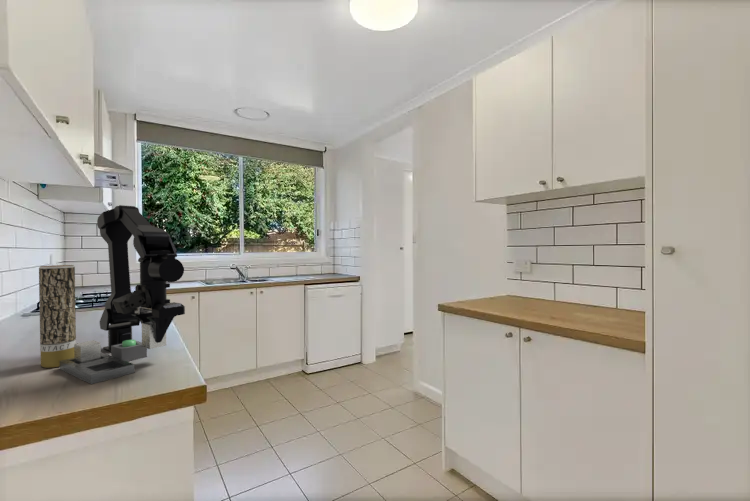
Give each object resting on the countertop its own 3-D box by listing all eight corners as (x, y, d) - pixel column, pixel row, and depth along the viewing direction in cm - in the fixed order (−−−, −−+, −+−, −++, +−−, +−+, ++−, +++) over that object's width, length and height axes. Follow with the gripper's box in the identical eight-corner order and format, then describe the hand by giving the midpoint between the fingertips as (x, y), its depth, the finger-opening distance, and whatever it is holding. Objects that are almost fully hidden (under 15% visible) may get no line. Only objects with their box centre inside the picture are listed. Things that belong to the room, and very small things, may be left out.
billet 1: (74, 368, 89) (74, 343, 89) (94, 363, 92) (93, 340, 92) (81, 371, 86) (80, 346, 86) (100, 366, 90) (100, 342, 90)
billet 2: (141, 346, 92) (141, 323, 92) (158, 343, 95) (158, 320, 95) (149, 349, 90) (149, 325, 89) (166, 345, 93) (166, 322, 93)
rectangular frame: (59, 369, 88) (59, 360, 88) (100, 359, 95) (100, 352, 95) (91, 384, 78) (91, 375, 78) (134, 372, 85) (134, 364, 85)
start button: (120, 350, 96) (120, 341, 96) (132, 348, 99) (132, 339, 99) (125, 352, 94) (125, 343, 94) (138, 349, 97) (137, 340, 97)
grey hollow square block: (111, 359, 96) (111, 345, 96) (136, 353, 101) (136, 340, 101) (121, 362, 92) (121, 349, 92) (146, 356, 97) (146, 343, 97)
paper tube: (47, 362, 93) (45, 265, 93) (80, 358, 96) (78, 264, 96) (35, 370, 87) (33, 266, 87) (71, 366, 90) (69, 266, 90)
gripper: (100, 281, 90) (101, 343, 91) (136, 285, 80) (137, 355, 80) (147, 277, 100) (148, 334, 100) (185, 280, 90) (186, 343, 90)
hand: (154, 341), depth 92 cm, fingers closed on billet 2, 4 cm apart
